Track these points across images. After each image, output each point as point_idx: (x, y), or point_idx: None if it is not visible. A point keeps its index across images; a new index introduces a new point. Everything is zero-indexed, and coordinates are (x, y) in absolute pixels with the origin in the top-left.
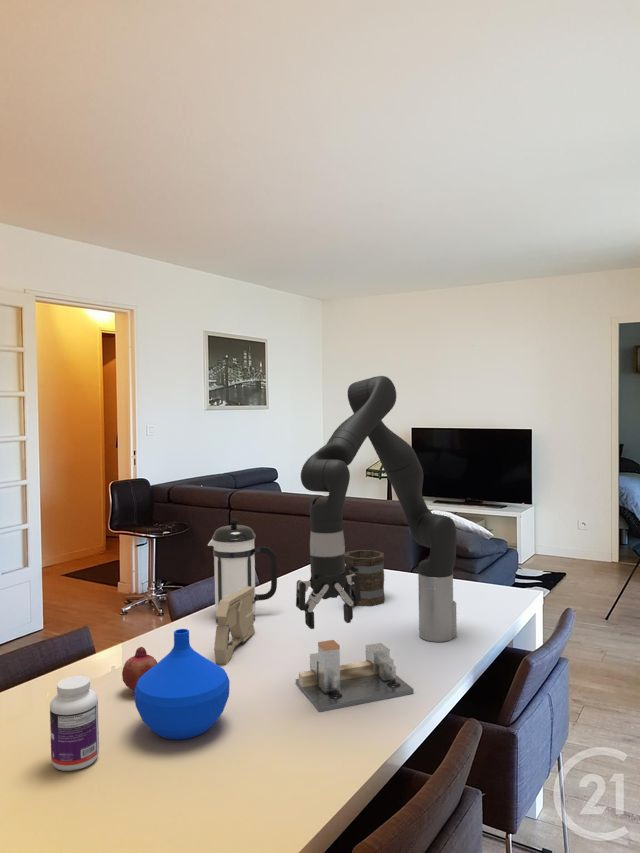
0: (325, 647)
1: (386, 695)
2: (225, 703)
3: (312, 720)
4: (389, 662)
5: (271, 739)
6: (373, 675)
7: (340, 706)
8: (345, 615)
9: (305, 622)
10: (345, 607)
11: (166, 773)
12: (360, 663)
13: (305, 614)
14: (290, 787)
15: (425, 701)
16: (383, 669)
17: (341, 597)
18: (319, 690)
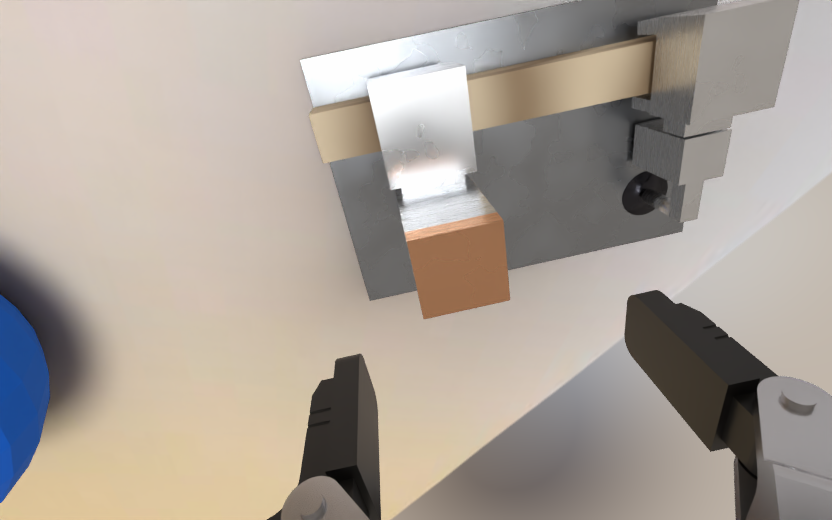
0: (431, 316)
1: (587, 250)
2: (42, 408)
3: (344, 330)
4: (699, 178)
5: (235, 397)
6: None
7: None
8: (656, 345)
9: (312, 401)
10: (705, 402)
11: None
12: (607, 68)
13: (305, 466)
14: None
15: (670, 274)
16: (657, 171)
17: (751, 515)
18: (388, 190)
